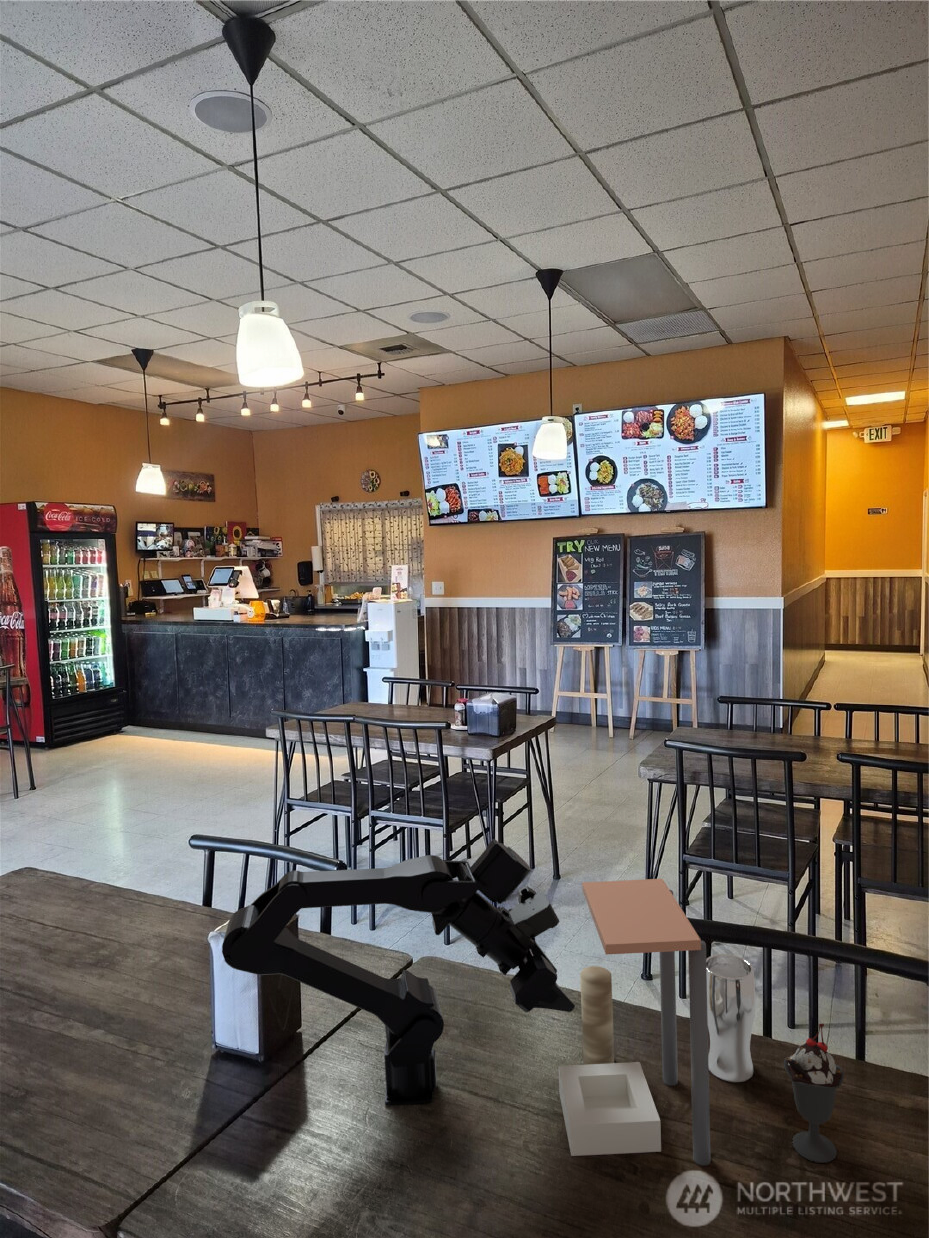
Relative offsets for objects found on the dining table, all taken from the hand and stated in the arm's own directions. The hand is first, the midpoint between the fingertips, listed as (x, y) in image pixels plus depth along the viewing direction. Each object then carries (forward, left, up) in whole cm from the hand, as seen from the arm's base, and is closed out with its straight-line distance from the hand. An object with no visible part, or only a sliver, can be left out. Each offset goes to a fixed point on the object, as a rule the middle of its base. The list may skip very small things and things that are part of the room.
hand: (563, 990), depth 111 cm
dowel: (+5, +1, -11) cm, 12 cm away
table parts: (+7, -11, -11) cm, 17 cm away
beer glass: (+23, -2, -11) cm, 26 cm away
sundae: (+28, -17, -11) cm, 35 cm away
